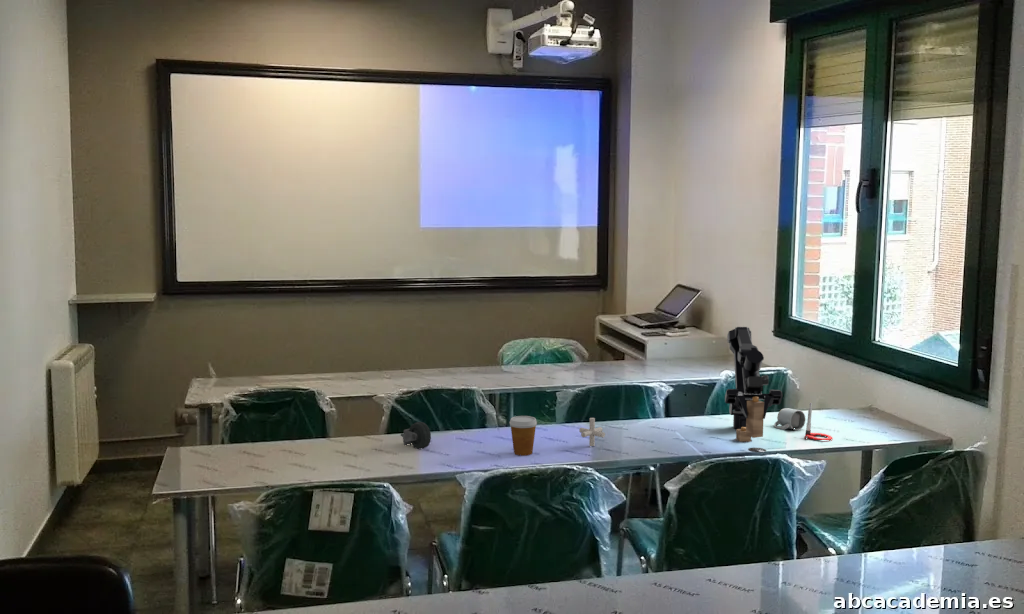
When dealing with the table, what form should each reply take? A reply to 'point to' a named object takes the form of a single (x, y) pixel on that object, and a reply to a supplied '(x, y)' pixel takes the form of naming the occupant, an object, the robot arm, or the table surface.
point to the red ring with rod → (808, 428)
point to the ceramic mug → (790, 419)
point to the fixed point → (742, 435)
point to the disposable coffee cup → (523, 434)
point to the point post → (755, 418)
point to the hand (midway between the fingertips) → (755, 417)
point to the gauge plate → (754, 448)
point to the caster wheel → (417, 435)
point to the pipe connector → (592, 432)
